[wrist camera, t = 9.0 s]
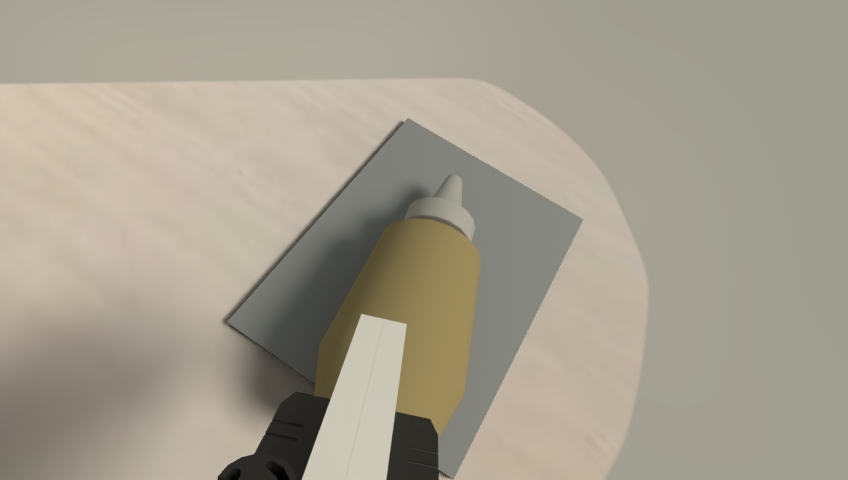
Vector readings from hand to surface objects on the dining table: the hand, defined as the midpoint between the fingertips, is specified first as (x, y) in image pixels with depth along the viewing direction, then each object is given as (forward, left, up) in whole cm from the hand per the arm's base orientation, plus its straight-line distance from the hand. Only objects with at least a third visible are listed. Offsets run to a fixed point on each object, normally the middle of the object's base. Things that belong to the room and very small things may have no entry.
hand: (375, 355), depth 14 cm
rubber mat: (-2, +10, -14) cm, 17 cm away
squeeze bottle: (+1, -2, -9) cm, 9 cm away
